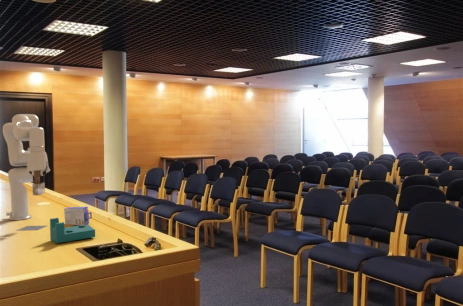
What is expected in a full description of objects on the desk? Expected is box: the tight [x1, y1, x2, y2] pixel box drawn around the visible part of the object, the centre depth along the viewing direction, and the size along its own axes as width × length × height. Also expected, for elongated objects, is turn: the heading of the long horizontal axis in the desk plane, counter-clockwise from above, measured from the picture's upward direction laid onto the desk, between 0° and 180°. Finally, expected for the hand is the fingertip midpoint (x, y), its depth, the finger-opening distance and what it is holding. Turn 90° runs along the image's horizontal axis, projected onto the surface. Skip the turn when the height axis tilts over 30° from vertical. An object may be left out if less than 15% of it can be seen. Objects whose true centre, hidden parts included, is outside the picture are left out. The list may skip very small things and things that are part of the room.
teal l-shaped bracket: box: [49, 217, 96, 244], centre depth 209 cm, size 18×11×10 cm, turn 127°
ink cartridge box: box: [63, 206, 93, 226], centre depth 246 cm, size 10×6×14 cm
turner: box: [31, 170, 46, 196], centre depth 239 cm, size 3×8×13 cm, turn 179°
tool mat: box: [15, 225, 47, 232], centre depth 237 cm, size 12×12×1 cm
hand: (38, 182), depth 239 cm, fingers closed on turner, 3 cm apart
